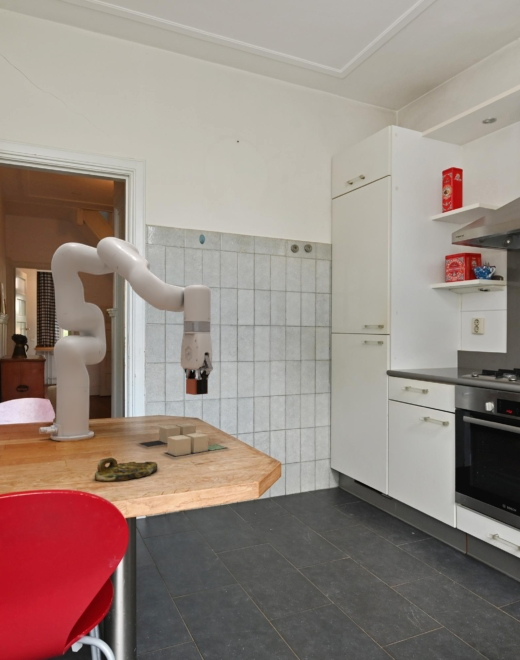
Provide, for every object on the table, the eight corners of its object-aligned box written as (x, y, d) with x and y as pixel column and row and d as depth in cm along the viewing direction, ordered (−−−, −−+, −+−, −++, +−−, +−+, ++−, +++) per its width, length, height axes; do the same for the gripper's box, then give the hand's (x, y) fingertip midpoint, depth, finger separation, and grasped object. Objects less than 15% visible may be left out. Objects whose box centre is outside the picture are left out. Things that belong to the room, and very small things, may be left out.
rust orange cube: (194, 395, 132) (194, 379, 133) (185, 393, 136) (185, 378, 136) (207, 393, 135) (208, 379, 135) (199, 392, 139) (199, 378, 139)
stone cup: (45, 423, 172) (46, 381, 173) (80, 420, 178) (80, 380, 179) (49, 430, 159) (50, 385, 159) (87, 427, 165) (87, 383, 165)
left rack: (147, 448, 134) (148, 431, 134) (138, 444, 139) (138, 428, 139) (199, 440, 145) (199, 425, 145) (189, 437, 150) (189, 422, 150)
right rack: (174, 458, 123) (174, 440, 123) (163, 454, 127) (163, 436, 128) (228, 449, 134) (228, 432, 134) (216, 445, 138) (216, 429, 138)
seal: (145, 468, 117) (86, 480, 106) (144, 449, 117) (85, 458, 107) (167, 472, 110) (106, 484, 100) (166, 451, 111) (105, 461, 100)
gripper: (170, 329, 140) (170, 391, 140) (202, 327, 127) (201, 396, 127) (192, 329, 145) (192, 390, 144) (225, 328, 132) (225, 394, 131)
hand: (196, 392), depth 136 cm, fingers closed on rust orange cube, 4 cm apart
